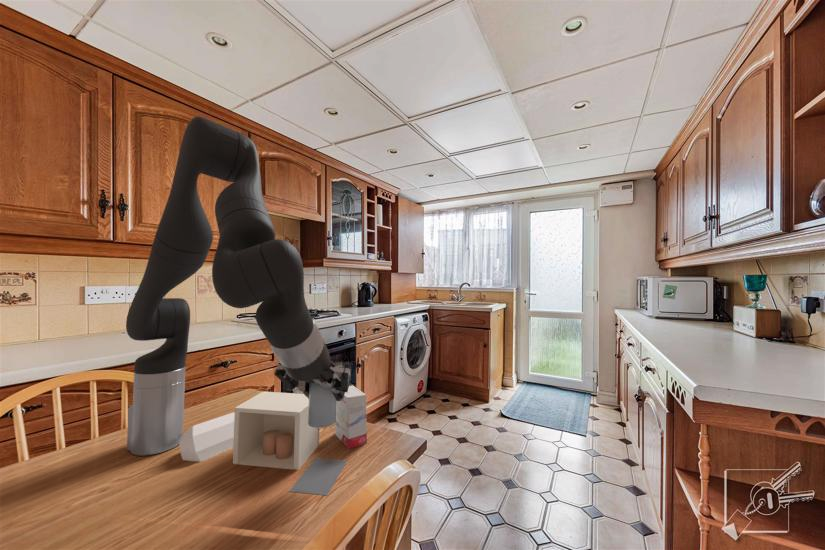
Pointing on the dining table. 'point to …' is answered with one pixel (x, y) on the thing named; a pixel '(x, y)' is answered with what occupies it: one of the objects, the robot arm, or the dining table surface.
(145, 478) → the dining table surface
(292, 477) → the dining table surface
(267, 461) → the cubby
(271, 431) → the brown tapered cup
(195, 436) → the white beveled prism
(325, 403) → the jar
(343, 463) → the mat
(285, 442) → the rounded tan cylinder
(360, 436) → the ink box
